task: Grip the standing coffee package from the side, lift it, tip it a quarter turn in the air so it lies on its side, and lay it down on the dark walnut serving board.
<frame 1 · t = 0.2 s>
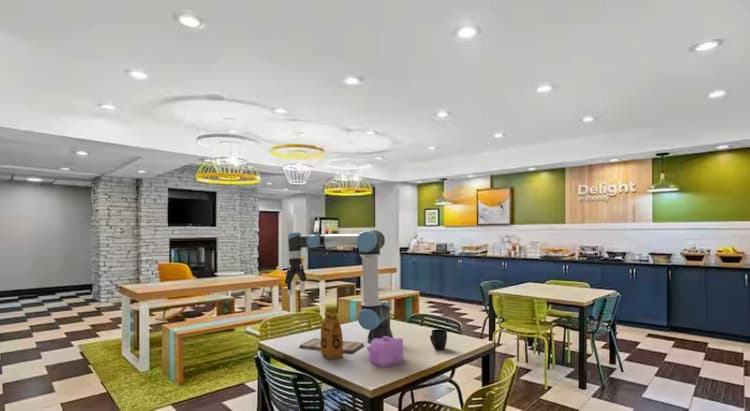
hand: (296, 293, 243), 27 cm above the table, tool pointing down, fingers open, 13 cm apart
mug: (437, 349, 219), on the table
coffee package: (332, 356, 210), on the table
teakettle: (386, 362, 199), on the table
walnut board: (331, 346, 227), on the table
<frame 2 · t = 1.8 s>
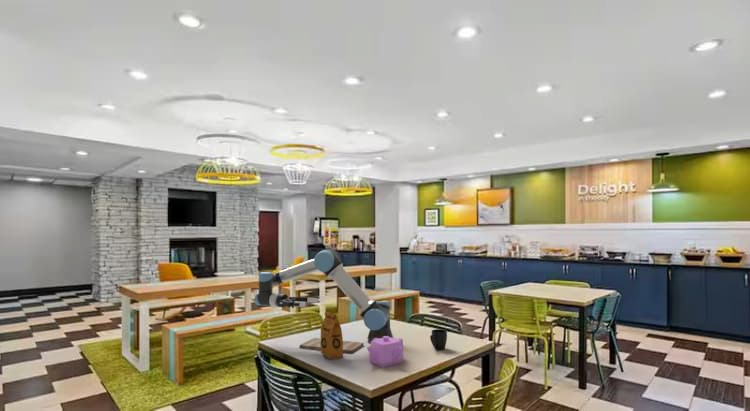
hand: (311, 302, 225), 25 cm above the table, tool horizontal, fingers open, 13 cm apart
nothing on the table moved.
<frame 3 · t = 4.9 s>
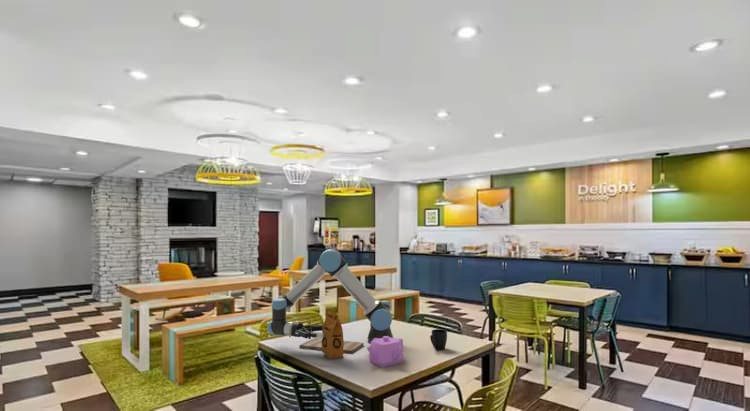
hand: (329, 332, 211), 12 cm above the table, tool horizontal, fingers open, 13 cm apart
coffee package: (332, 355, 210), on the table, touching gripper
everything else where it was.
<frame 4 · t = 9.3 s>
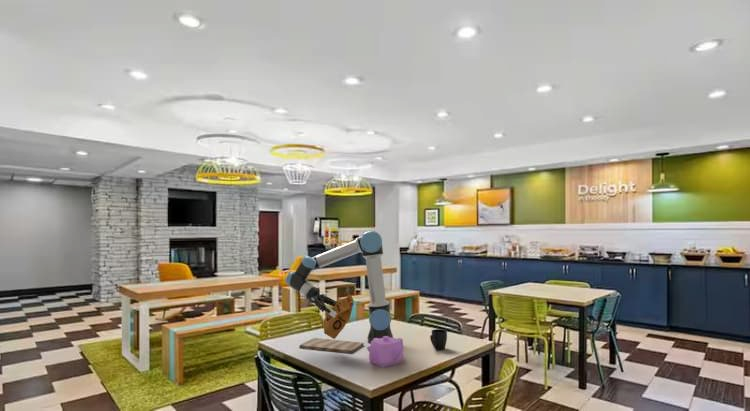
hand: (340, 313, 217), 20 cm above the table, tool tilted 60°, fingers closed on coffee package, 13 cm apart
coffee package: (328, 331, 218), point 11 cm above the table, touching gripper
everything else where it was.
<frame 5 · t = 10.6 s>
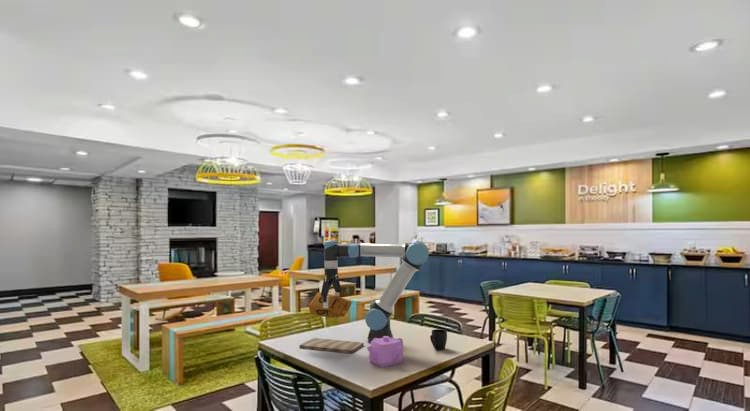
hand: (331, 305, 228), 23 cm above the table, tool pointing down, fingers closed on coffee package, 13 cm apart
coffee package: (313, 302, 233), point 24 cm above the table, touching gripper
everything else where it was.
when the fingers open (6 cm above the table, at t = 14.1 s): coffee package stays where it is, resting on walnut board.
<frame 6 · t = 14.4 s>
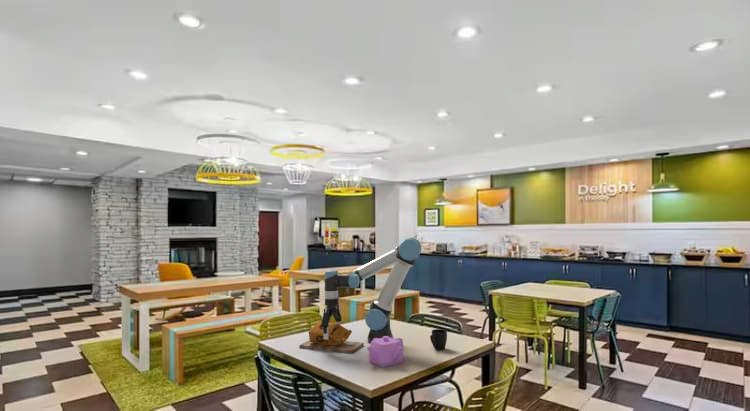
hand: (331, 336, 227), 6 cm above the table, tool pointing down, fingers open, 13 cm apart
coffee package: (313, 331, 233), point 7 cm above the table, touching gripper, walnut board
everything else where it was.
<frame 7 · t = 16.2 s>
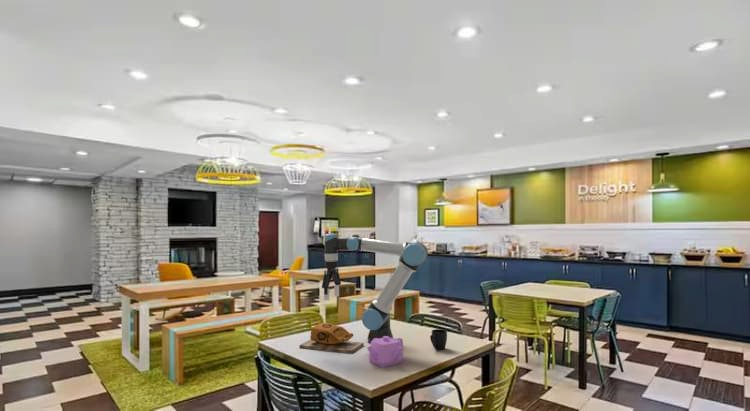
hand: (331, 298, 232), 26 cm above the table, tool pointing down, fingers open, 13 cm apart
coffee package: (315, 331, 234), point 7 cm above the table, touching walnut board
everything else where it was.
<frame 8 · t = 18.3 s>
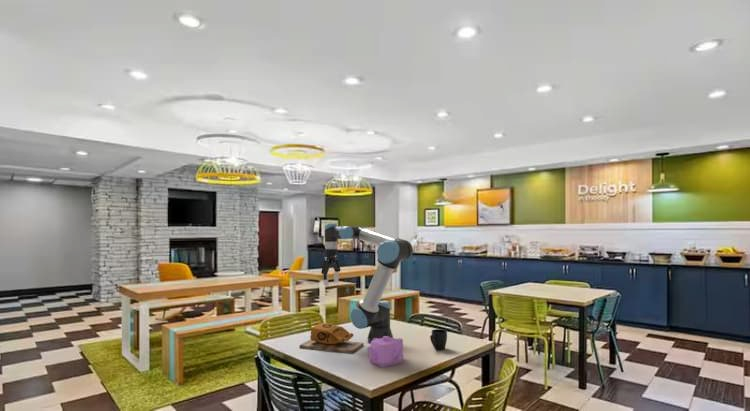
hand: (331, 283, 246), 33 cm above the table, tool pointing down, fingers open, 13 cm apart
nothing on the table moved.
at the end: coffee package tilted 95°; coffee package touching walnut board; the gripper is holding nothing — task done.
